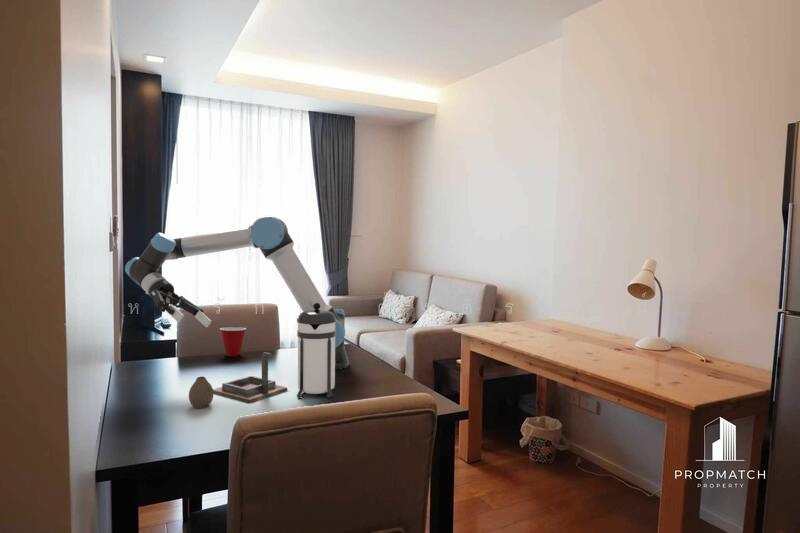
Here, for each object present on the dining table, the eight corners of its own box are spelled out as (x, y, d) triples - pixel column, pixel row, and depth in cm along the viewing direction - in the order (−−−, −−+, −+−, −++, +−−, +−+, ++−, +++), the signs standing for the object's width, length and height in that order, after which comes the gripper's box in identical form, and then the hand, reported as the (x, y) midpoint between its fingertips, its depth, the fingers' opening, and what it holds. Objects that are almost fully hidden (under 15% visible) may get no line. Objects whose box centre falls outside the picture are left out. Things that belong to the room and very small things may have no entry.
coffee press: (350, 393, 169) (351, 303, 167) (310, 403, 157) (311, 307, 156) (319, 382, 181) (320, 298, 179) (280, 391, 169) (280, 301, 168)
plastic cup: (250, 352, 226) (250, 325, 225) (240, 358, 215) (240, 330, 215) (226, 351, 227) (226, 325, 226) (215, 357, 216) (215, 329, 216)
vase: (193, 402, 157) (192, 374, 156) (216, 402, 157) (216, 374, 157) (185, 410, 150) (185, 380, 149) (209, 409, 150) (209, 380, 150)
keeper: (250, 381, 180) (250, 342, 180) (288, 390, 170) (288, 349, 170) (212, 392, 167) (212, 350, 166) (250, 403, 157) (250, 358, 156)
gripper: (177, 302, 189) (213, 335, 181) (123, 290, 166) (161, 326, 158) (189, 286, 189) (225, 317, 181) (136, 271, 166) (175, 306, 158)
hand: (195, 321), depth 170 cm, fingers open, 13 cm apart
